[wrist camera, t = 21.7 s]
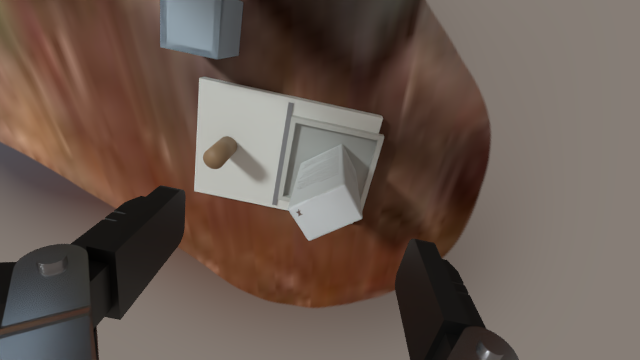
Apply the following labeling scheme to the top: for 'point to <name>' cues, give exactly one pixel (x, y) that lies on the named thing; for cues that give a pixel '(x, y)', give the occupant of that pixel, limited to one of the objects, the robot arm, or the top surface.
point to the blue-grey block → (201, 27)
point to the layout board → (274, 141)
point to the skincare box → (325, 194)
